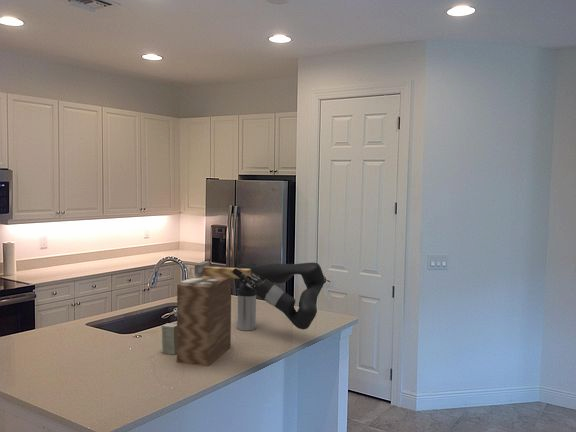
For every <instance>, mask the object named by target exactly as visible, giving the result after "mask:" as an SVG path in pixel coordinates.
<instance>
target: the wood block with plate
mask: <svg viewBox="0 0 576 432" xmlns="http://www.w3.org/2000/svg"><path fill="white" fill-rule="evenodd" d="M235 268H236V267H227V266H226V267H224V266H210V261H209V260H208V261H205V260H204V261H201V262H198V263H195V264H194V278H196V277H202V276H210V277H225V278H231V279H236V278H239V277H238V276H236V275H235V274H233V270H234V269H235ZM236 269H238V270H239V271H241V272H242V273H244V274H245V275H247V276H248V275H250V276H251V269H244V268H236ZM248 279H249V278H248Z"/></svg>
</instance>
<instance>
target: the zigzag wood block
mask: <svg viewBox="0 0 576 432" xmlns="http://www.w3.org/2000/svg"><path fill="white" fill-rule="evenodd" d="M176 286H177V293H176V295H177V296H176V297H177V298H176V299H177V300H176V301H177V303H176V310H177V311H176V319H177V320H176V324H177V353H176V362H177V363H182V364H189V365H198V366H204V367H205V366H206V367H209V366H210V365H211V364H213V363H214V362H215V361H216V360H217V359H219V358H220V357H221V356H222V355H224V354H225V353H226V352H227V351H228V350H230V349H231V346H232V345H231V340H232V339H231V337H232V336H231V334H232V333H231V332H232V331H231V329H232V278H225V277H210V276H202V277H189V278H187V279H184V280H181V281H180V283H178V284H177V285H176Z"/></svg>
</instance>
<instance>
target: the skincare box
mask: <svg viewBox="0 0 576 432" xmlns="http://www.w3.org/2000/svg"><path fill="white" fill-rule="evenodd" d="M161 342H162V343H161V344H162V349H161V350H162V351H161V353H162V354H166V355H167V354H168V355H177V323H169V322H167V323H165V324H162V325H161Z"/></svg>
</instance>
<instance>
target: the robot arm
mask: <svg viewBox="0 0 576 432" xmlns="http://www.w3.org/2000/svg"><path fill="white" fill-rule="evenodd" d="M234 268H235V269H234V270H233V274H235V275H236V276H238V277H239V278H235V279H236V280H237V281H238V282H240V283H241V284H242V285H241V286H240V287H239V288H238V289H237V320H236V321H237V330H240V331H243V332H244V331H254V330H255V329H256V327H257V324H256V323H257V297H259V298H260V299H262V300H263V301H264V302H266V303H267V304H269V305H271V306H272V307H274V308H276V309H277V310H279V311H280V312H282V313H283V314H284V315H285V316H286V317H287V319H288V320H289V321H290V322H291V323H292V325H294V327H295V328H297V329H299V330H307V329H308V328H310V326H311V324H312V323H313V321H314V319H315V318H316V316H317V313H318V309H317V302H318V301H317V300H318V297H319V294H320V292H321V291H322V289H323V287H324V284H325V281H326V279H325V275H324V272H323V270H322V267H321V266H320V264H319V263H318V262H302V263H267V264H262V265H261V264H260V265H257V264H256V263H254V262H245V263H244V262H243V263H241V264H238V265H237V266H236V267H234ZM236 268H244V269H251V276H250V275H248V276H247V275H245V274H244V273H242V272H241V271H239V270H238V269H236ZM294 275H295V276H296V275H301V277H302V280H303V282H304V285H305V286H306V289H305V290H303V291H302V292H301V294H300V296H299V300H298V309H297V310H296V308H295V305H296V299H295V298H294V297H293V296H292V295H290V294H289V293H287V292H285V291H284V290H283V289H282V288H280V287H279V286H278V285H276V284H284V283H287V282H288V281H289V280H290V279H291V278H292V277H293V276H294ZM248 278H249V279H248Z"/></svg>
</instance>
